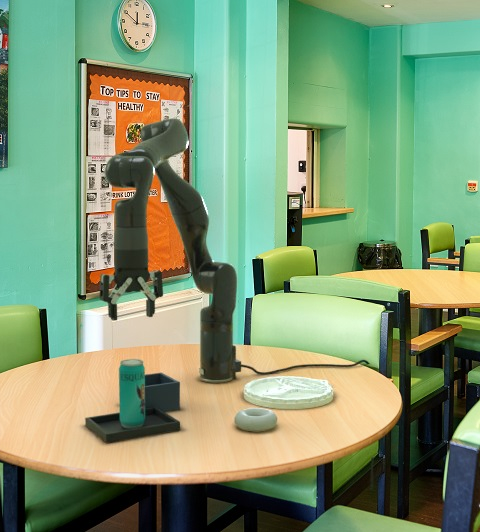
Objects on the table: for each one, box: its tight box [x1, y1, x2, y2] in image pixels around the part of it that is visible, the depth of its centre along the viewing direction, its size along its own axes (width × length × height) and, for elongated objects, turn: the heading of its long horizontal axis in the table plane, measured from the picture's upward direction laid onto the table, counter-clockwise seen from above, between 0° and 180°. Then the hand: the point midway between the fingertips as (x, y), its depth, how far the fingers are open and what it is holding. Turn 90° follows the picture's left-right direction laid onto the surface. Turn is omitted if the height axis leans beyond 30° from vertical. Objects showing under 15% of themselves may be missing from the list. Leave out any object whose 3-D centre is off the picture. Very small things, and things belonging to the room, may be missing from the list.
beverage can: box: [118, 358, 146, 429], centre depth 185 cm, size 6×6×15 cm
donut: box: [233, 407, 278, 432], centre depth 188 cm, size 10×3×10 cm
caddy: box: [145, 372, 181, 413], centre depth 202 cm, size 11×11×7 cm
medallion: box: [243, 375, 334, 410], centre depth 215 cm, size 24×27×2 cm
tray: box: [84, 407, 181, 444], centre depth 186 cm, size 18×14×2 cm
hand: (132, 318), depth 183 cm, fingers open, 8 cm apart
